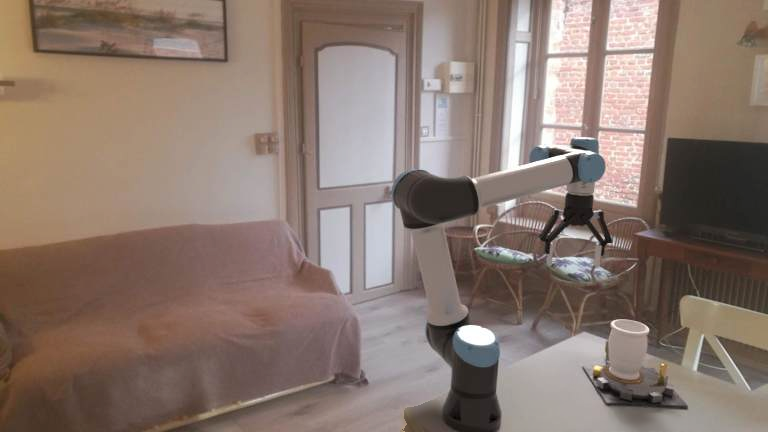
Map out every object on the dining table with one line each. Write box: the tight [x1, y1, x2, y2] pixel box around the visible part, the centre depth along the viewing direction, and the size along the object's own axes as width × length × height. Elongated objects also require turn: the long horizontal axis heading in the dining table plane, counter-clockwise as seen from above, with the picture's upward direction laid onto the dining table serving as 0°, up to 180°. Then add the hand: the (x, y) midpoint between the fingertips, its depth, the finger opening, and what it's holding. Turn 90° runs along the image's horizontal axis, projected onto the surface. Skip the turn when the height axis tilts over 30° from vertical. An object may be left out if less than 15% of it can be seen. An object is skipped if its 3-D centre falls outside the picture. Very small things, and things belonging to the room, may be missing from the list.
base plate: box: [582, 365, 689, 409], centre depth 173 cm, size 22×22×1 cm
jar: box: [608, 318, 650, 380], centre depth 172 cm, size 11×10×15 cm
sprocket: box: [593, 360, 675, 403], centre depth 172 cm, size 22×22×8 cm
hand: (572, 265), depth 171 cm, fingers open, 13 cm apart
